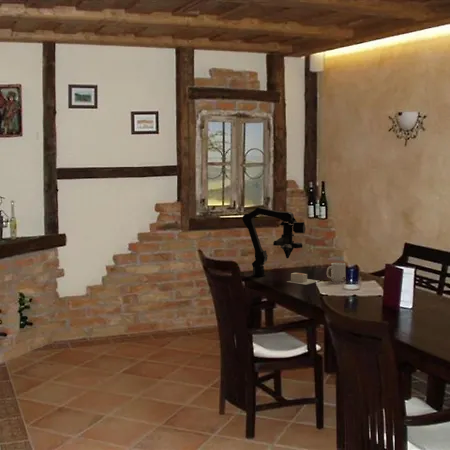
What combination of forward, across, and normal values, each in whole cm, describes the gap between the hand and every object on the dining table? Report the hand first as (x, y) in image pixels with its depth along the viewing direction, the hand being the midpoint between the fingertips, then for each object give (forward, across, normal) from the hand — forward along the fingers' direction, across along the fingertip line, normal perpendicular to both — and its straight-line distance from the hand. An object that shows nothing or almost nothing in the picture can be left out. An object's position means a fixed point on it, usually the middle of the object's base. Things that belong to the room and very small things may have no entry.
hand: (287, 258), depth 429 cm
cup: (+11, +29, +10) cm, 33 cm away
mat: (+12, +16, -5) cm, 21 cm away
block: (+9, +8, -5) cm, 14 cm away
